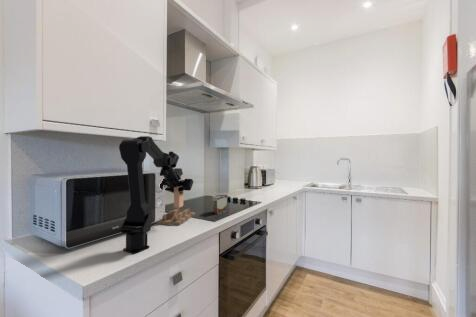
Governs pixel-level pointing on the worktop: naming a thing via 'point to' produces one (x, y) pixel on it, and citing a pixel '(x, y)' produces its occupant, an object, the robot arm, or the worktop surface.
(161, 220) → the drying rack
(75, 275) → the worktop surface
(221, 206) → the food container
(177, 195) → the clay strip
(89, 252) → the worktop surface
